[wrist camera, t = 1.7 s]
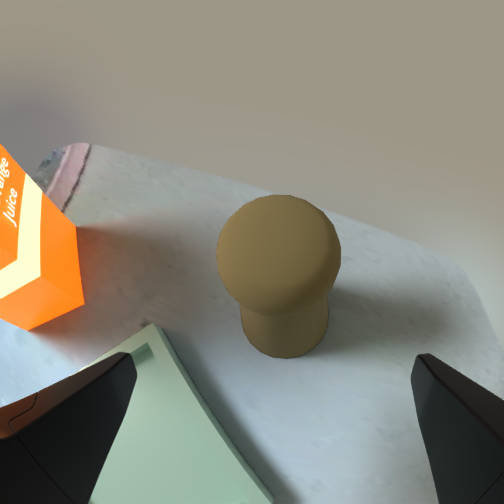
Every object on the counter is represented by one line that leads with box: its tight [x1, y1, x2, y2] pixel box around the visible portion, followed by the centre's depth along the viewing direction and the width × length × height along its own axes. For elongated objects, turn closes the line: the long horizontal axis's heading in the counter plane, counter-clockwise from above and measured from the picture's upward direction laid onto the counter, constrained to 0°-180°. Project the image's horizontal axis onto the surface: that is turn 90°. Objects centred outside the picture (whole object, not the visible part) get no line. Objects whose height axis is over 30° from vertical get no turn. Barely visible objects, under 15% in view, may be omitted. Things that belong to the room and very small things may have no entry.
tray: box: [72, 323, 274, 504], centre depth 17 cm, size 14×14×2 cm
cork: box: [216, 195, 341, 359], centre depth 17 cm, size 6×6×11 cm
